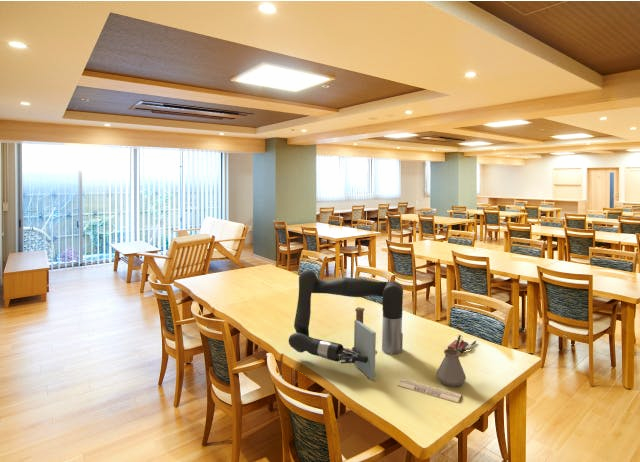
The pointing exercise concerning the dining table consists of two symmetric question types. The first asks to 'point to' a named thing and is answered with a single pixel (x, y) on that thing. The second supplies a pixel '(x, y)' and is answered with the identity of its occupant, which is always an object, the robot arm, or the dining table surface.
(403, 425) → the dining table surface
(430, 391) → the tan flat bar
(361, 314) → the hinge post
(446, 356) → the coffee pot
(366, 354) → the door
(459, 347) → the dried flower sprig
